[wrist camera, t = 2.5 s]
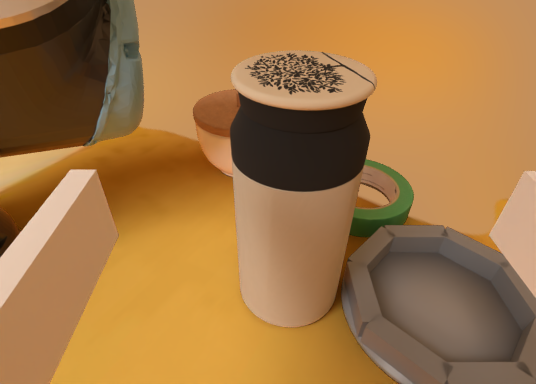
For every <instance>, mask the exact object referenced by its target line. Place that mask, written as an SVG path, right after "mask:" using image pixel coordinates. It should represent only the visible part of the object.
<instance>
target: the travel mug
mask: <svg viewBox="0 0 536 384" xmlns="http://www.w3.org/2000/svg"><path fill="white" fill-rule="evenodd" d="M231 81H232V84H233V86H234V87H235V89H236V90H237V91H238V95H239V100H240V105H241V106H240V108H239V110H238V112H237V114H236V116H235V118H234V120H233V122H232V124H231V126H230V142H231V157H232V172H233V187H234V202H235V217H236V232H237V247H238V262H239V276H240V290H241V294H242V297H243V300H244V302H245V304H246V305H247V307H248V308H249V309H250V310H251V311H252V312H253V313H254V314H255V315H256V316H257V317H259V318H260V319H262V320H264V321H266V322H268V323H270V324H273V325H277V326H281V327H300V326H305V325H308V324H311V323H313V322H315V321H317V320H319V319H320V318H322V317H323V316H324V315H325V314H326V313H327V312H328V311H329V310H330V308H331V307H332V305H333V303H334V300H335V297H336V292H337V288H338V283H339V278H340V274H341V269H342V265H343V260H344V256H345V251H346V246H347V242H348V237H349V233H350V228H351V223H352V219H353V214H354V210H355V205H356V201H357V196H358V191H359V187H360V182H361V178H362V173H363V168H364V164H365V159H366V155H367V150H368V146H369V140H370V133H369V130H368V127H367V124H366V121H365V119H364V115H363V113H362V112H363V109H364V106H365V103H366V100H367V98H368V97H369V96H370V95H371V94H372V93H373V92H374V90H375V89H376V85H377V79H376V76H375V74H374V73H373V71H371V69H369V68H368V67H367V66H365V65H364V64H362V63H360V62H358V61H355V60H353V59H350V58H347V57H343V56H339V55H335V54H330V53H323V52H314V51H279V52H271V53H266V54H261V55H257V56H254V57H251V58H248V59H246V60H244V61H242V62H240V63H239V64H238V65H237V66H236V67H235V68H234V69H233V71H232V73H231Z"/></svg>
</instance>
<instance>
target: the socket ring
mask: <svg viewBox="0 0 536 384" xmlns="http://www.w3.org/2000/svg"><path fill="white" fill-rule="evenodd" d="M341 299H342V306H343V311H344V314H345V318H346V320H347V323H348V325H349V327H350V330H351V332H352V333H353V335H354V337H355V339H356V340H357V342H358V343H359V345H360V346H361V347H362V349H363V350H364V352H365V353H366V354H367V355H368V356H369V357H370V359H371V360H372V361H373V362H374V363H375V364H376V365H377V366H378V367H379V368H380V369H381V370H382V371H384V372H385V373H386V374H387V375H388V376H389V377H390V378H392V379H393V380H395V381H396V382H397V383H399V384H536V298H535V297H534V295H533V294H532V292H531V291H530V290H529V288H528V287H527V286H526V284H525V283H524V282H523V280H522V279H521V278H520V276H519V275H518V274H517V272H516V271H515V270H514V268H513V267H512V266H511V264H510V263H509V262H508V260H507V259H506V258H505V256H504V255H503V254H502V253H500V252H498V251H496V250H494V249H492V248H490V247H487V246H485V245H483V244H481V243H479V242H477V241H475V240H473V239H471V238H469V237H467V236H465V235H463V234H461V233H459V232H457V231H455V230H453V229H451V228H449V227H446V229H445V228H444V226H442V225H385V226H384V227H382V226H381V227H380V228H379V229H378V230H377V231H376V232H375V233H374V234H373V235H372V236H371V237H370V238H369V239H368V240H367V241H366V242H365V243H363V244H362V245H361V246H360V247H359V248H358V249H357V250H356V251H355V252H354V253H353V254H352V255H351V256H350V257H349V258H348V261H347V264H346V268H345V273H344V277H343V282H342V287H341Z"/></svg>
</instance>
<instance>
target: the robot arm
mask: <svg viewBox="0 0 536 384" xmlns="http://www.w3.org/2000/svg"><path fill="white" fill-rule="evenodd" d="M142 71H143V70H142V60H141V56H140V53H139V36H138V24H137V17H136V11H135V6H134V0H0V157H7V156H14V155H21V154H28V153H35V152H42V151H49V150H56V149H63V148H70V147H77V146H92V145H94V144H95V143H97V142H98V141H103V140H108V139H113V138H118V137H123V136H126V135H129V134H130V133H132V132H133V131H134V130H135V129H136V128H137V127H138V126H139V124H140V122H141V119H142V115H143V106H144V105H143V104H144V90H143V89H144V86H143V72H142ZM118 236H119V235H118V232H117V229H116V226H115V223H114V220H113V217H112V214H111V211H110V208H109V205H108V203H107V200H106V197H105V194H104V191H103V188H102V185H101V182H100V179H99V176H98V173H97V170H70V171H69V172H68V173H67V175H66V176H65V177H64V178H63V180H62V181H61V182H60V183H59V185H58V186H57V187H56V188H55V190H54V191H53V192H52V193H51V195H50V196H49V197H48V198H47V200H46V201H45V202H44V204H43V205H42V206H41V207H40V209H39V210H38V211H37V212H36V214H35V215H34V216H33V217H32V219H31V220H30V221H29V222H28V224H27V225H26V226H25V227H24V229H23V230H22V231H21V232H20V231H19V230H18V228H17V226H16V225H15V223H14V221H13V220H12V218H11V217H10V215H9V214H8V213H7V212H6V211H5V210H4V209H2V208H1V207H0V384H50V382H51V380H52V377H53V375H54V373H55V371H56V369H57V367H58V365H59V362H60V360H61V358H62V356H63V354H64V352H65V350H66V347H67V345H68V343H69V341H70V339H71V337H72V335H73V332H74V330H75V328H76V326H77V324H78V322H79V320H80V317H81V315H82V313H83V311H84V309H85V307H86V305H87V302H88V300H89V298H90V296H91V294H92V292H93V290H94V287H95V285H96V283H97V281H98V279H99V277H100V275H101V273H102V270H103V268H104V266H105V264H106V262H107V260H108V258H109V255H110V253H111V251H112V249H113V247H114V245H115V243H116V240H117V238H118ZM489 236H490V237H491V239H492V240H493V241H494V243H495V244H496V246H497V247H498V248H499V250H500V251H501V252H502V254H503V255H504V256H505V258H506V259H507V260H508V262H509V263H510V264H511V266H512V267H513V268H514V270H515V271H516V272H517V274H518V275H519V276H520V278H521V279H522V280H523V282H524V283H525V284H526V286H527V287H528V288H529V290H530V291H531V292H532V294H533V295H534V297H535V298H536V171H524V173H523V175H522V176H521V178H520V180H519V182H518V184H517V185H516V187H515V189H514V191H513V193H512V195H511V196H510V198H509V200H508V202H507V203H506V205H505V207H504V209H503V211H502V212H501V214H500V216H499V218H498V220H497V221H496V223H495V225H494V227H493V229H492V231H491V232H490V234H489Z"/></svg>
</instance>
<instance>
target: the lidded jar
mask: <svg viewBox="0 0 536 384" xmlns="http://www.w3.org/2000/svg"><path fill="white" fill-rule="evenodd" d="M240 106H241V105H240V100H239V95H238V91H237V90H236V89H233V90H225V91H219V92H215V93H212V94H209V95H207V96H205V97H203V98H202V99H200V100H199V101H198V102H197V103H196V104H195V106H194V108H193V116H194V120H195V123H196V130H197V135H198V139H199V143H200V146H201V148H202V151H203V153H204V154H205V156H206V157H207V159H208V160H209V161H210V162H211V163H212V164H213V165H214V166H215V167H216V168H218V169H220V170H221V172H222V173H224V174H225V175H227V176H230V177H233V172H232V157H231V142H230V126H231V124H232V122H233V120H234V118H235V116H236V114H237V112H238V110H239V108H240Z"/></svg>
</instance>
